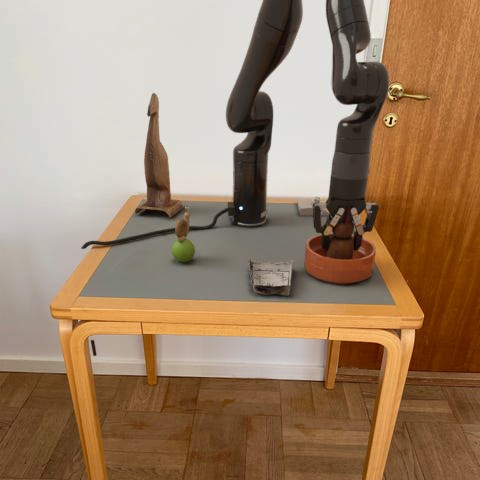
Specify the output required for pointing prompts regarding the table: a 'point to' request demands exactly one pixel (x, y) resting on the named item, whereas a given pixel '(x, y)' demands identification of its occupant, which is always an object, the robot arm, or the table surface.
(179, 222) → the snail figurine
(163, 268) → the table surface
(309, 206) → the grey stone carving
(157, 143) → the bird sculpture
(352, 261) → the bowl
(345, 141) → the robot arm
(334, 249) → the wooden figurine
